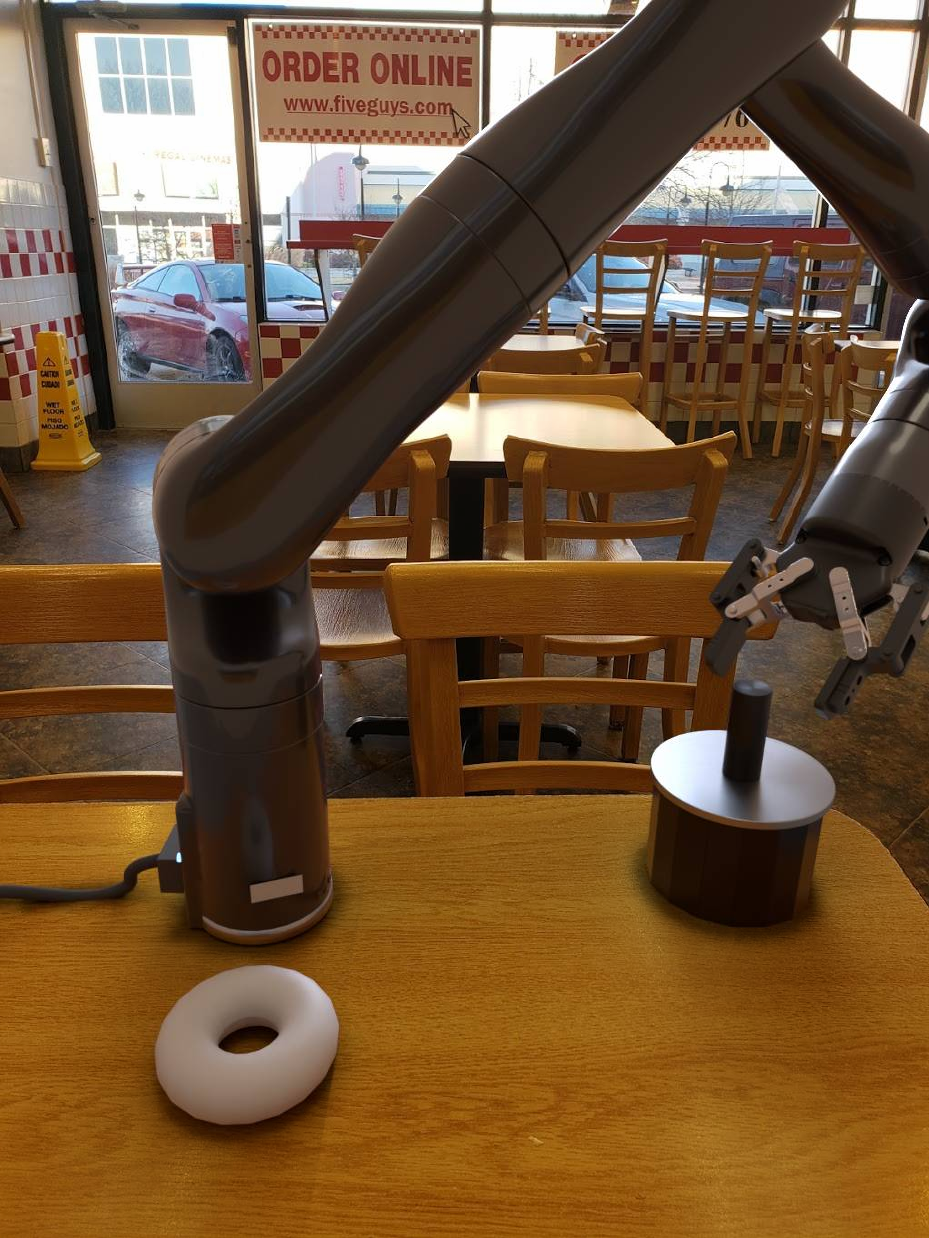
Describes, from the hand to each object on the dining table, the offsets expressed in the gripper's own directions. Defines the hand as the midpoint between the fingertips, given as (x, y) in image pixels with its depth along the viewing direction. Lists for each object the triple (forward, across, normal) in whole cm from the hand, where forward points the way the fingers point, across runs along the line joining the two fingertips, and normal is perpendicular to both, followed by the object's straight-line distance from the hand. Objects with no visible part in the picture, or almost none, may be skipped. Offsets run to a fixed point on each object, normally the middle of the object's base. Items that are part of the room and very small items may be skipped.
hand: (765, 691), depth 64 cm
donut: (+36, -7, -15) cm, 40 cm away
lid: (+6, 0, +4) cm, 7 cm away
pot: (+12, 0, +9) cm, 15 cm away
